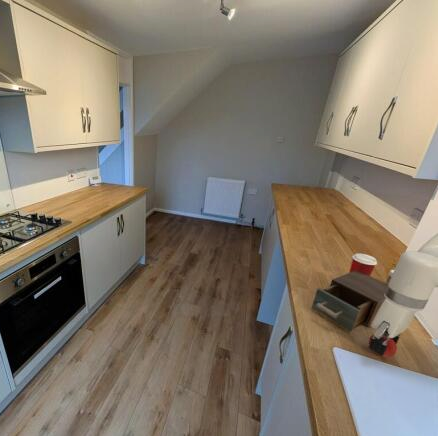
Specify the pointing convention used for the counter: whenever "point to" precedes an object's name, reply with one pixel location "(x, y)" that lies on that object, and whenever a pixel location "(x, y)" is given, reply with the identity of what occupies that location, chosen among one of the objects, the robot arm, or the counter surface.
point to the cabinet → (364, 290)
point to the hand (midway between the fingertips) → (381, 347)
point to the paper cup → (363, 263)
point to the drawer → (342, 306)
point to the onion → (390, 348)
